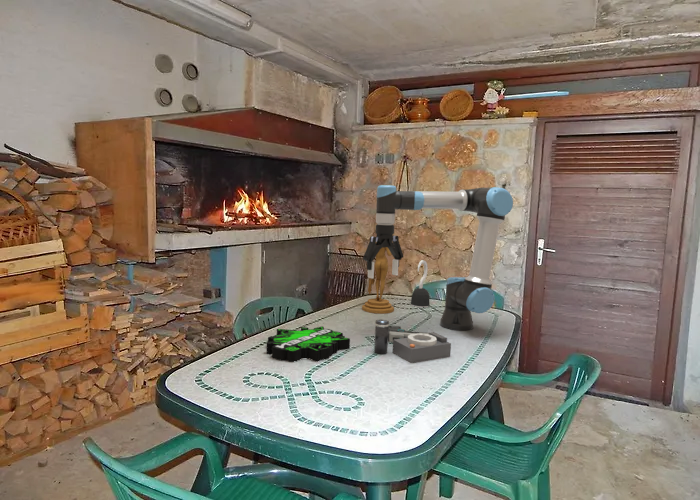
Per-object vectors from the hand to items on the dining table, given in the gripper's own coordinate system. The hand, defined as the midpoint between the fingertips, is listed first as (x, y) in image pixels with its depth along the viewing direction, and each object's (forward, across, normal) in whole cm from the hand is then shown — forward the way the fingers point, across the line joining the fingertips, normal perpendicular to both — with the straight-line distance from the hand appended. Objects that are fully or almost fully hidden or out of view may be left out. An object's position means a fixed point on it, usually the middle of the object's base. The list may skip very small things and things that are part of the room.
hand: (383, 276), depth 190 cm
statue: (+26, -34, -38) cm, 58 cm away
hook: (+27, -62, -34) cm, 75 cm away
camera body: (+27, -1, +22) cm, 34 cm away
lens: (+26, +10, +11) cm, 31 cm away
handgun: (+27, -11, +5) cm, 30 cm away
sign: (+27, +32, -9) cm, 43 cm away
